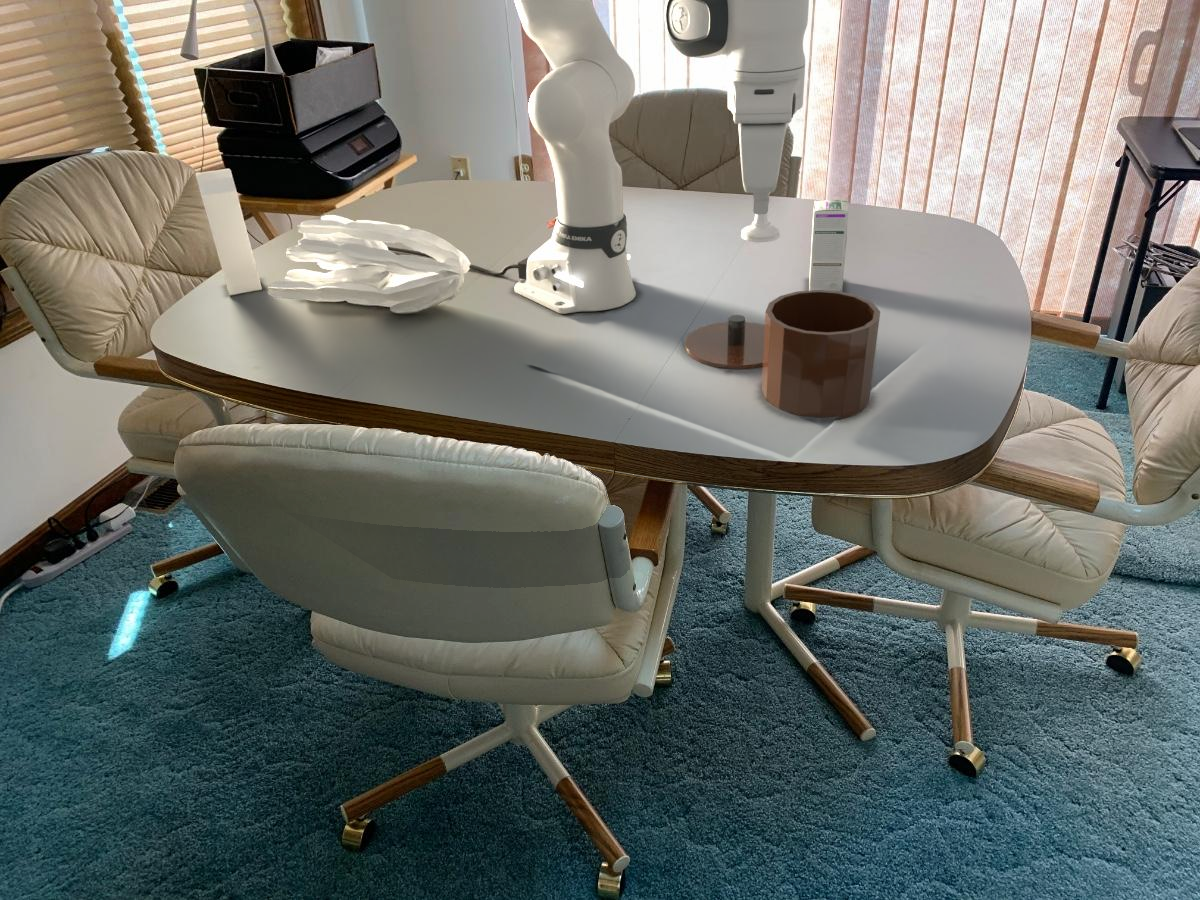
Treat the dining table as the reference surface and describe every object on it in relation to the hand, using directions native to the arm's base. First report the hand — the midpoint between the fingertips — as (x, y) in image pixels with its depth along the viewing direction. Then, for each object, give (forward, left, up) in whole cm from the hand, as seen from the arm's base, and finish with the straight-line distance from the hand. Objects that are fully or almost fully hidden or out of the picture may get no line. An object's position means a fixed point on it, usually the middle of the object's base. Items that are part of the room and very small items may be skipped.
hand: (761, 208), depth 114 cm
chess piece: (0, 0, -4) cm, 4 cm away
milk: (-101, -19, -27) cm, 106 cm away
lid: (-10, +11, -26) cm, 30 cm away
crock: (+7, +5, -27) cm, 28 cm away
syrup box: (-11, +41, -27) cm, 50 cm away
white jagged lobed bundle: (-72, -10, -27) cm, 77 cm away
